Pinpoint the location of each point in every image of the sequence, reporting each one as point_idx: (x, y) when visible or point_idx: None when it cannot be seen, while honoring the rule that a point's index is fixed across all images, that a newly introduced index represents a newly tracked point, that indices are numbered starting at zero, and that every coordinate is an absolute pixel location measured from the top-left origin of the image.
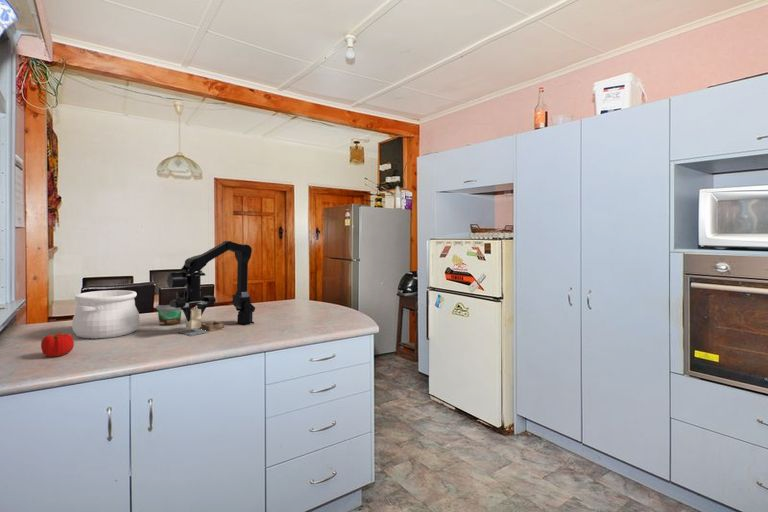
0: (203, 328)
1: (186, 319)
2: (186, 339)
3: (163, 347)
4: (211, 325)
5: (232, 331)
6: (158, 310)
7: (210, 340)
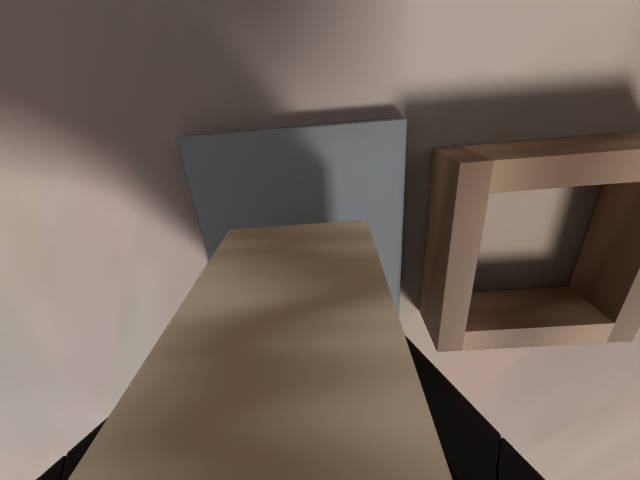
0: (432, 239)
1: (192, 306)
2: None
3: (21, 444)
4: (484, 333)
5: (539, 400)
6: None
7: None
